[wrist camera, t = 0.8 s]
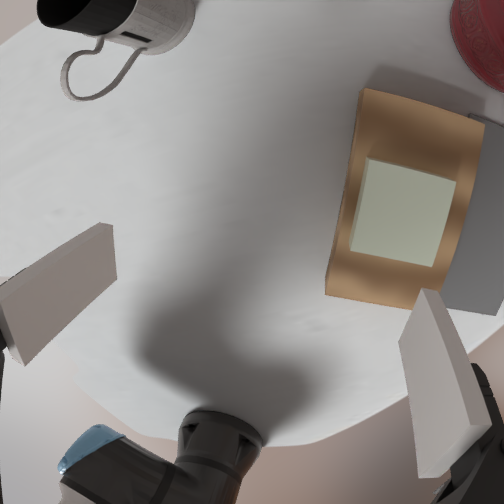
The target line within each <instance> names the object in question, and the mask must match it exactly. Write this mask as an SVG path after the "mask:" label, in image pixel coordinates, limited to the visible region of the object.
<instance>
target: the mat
mask: <svg viewBox="0 0 504 504" xmlns="http://www.w3.org/2000/svg"><path fill="white" fill-rule="evenodd" d="M469 118H470V119H473V120H476V121H478V122H481V123H483V124H485V128H484V135H483V141H482V147H481V152H480V158H479V163H478V168H477V172H476V177H475V181H474V186H473V190H472V194H471V198H470V202H469V206H468V210H467V213H466V217H465V220H464V224H463V227H462V231H461V234H460V237H459V240H458V243H457V246H456V250H455V253H454V256H453V258H452V261H451V264H450V267H449V270H448V273H447V275H446V278H445V281H444V283H443V286H442V288H441V291H440V296H441V298H442V300H443V303H444V305H445V307H446V308H450V309H456V310H462V311H468V312H474V313H480V314H487V315H493V316H496V314H497V312H498V310H499V308H500V306H501V303H502V301H503V299H504V127H502V126H500V125H497V124H495V123H493V122H490V121H488V120H485V119H483V118H481V117H478V116H475V115H473V114H469Z"/></svg>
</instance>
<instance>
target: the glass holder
mask: <svg viewBox="0 0 504 504" xmlns="http://www.w3.org/2000/svg"><path fill="white" fill-rule="evenodd" d="M37 15H38V18H39V20H40V21H41V23H42V24H43V25H45V26H47V27H50V28H56V29H62V30H68V31H73V32H78V33H82V34H84V35H86V36H88V37H93V38H97V44H96V47H95V49H94V50H93V51H91V50H81V51H78V52H75V53H73V54H72V55H71V56H70V57H68V58H67V60H66V61H65V63H64V64H63V67H62V70H61V78H60V81H61V87H62V90H63V92H64V94H65V96H66V97H68V98H69V99H70V100H73V101H89V100H94V99H97V98H99V97H102V96H104V95H105V94H107V93H108V92H110V91H111V90H113V89H114V88H115V87H116V86H117V85H118V84H119V83H120V82H121V80H122V79H123V77H124V76H125V74H126V73H127V72H128V70H129V69H130V67H131V66H132V64H133V63H134V61H135V60H136V58H137V57H138V56H139V54H140V53H141V54H145V55H157V54H161V53H165V52H167V51H169V50H171V49H173V48H174V47H176V46H177V45H178V44H179V43H180V42H181V41H182V40H183V39H184V38H185V37H186V36H187V34H188V33H189V31H190V29H191V27H192V25H193V21H194V16H195V9H194V4H193V2H192V0H38V1H37ZM104 40H106V41H111V42H115V43H119V44H123V45H127V46H130V47H132V48H133V49H134V50H136V51H135V52H134V53H133V54H132V55H131V57H130V58H129V60H128V61H127V62H126V64H125V66H124V67H123V69H122V70H121V71H120V73H119V74H118V75H117V77H116V78H115V79H114V80H113V82H112V83H111V84H110V85H108V86H107V87H106V88H105V89H103V90H102V91H100V92H99V93H97V94H94V95H92V96H88V97H77V96H75V95H74V94H73V93H72V92H71V90H70V87H69V83H68V72H69V68H70V66H71V64H72V62H73V61H74V60H75V59H76V58H77V57H78V56H80V55H95V54H97V53H99V52H100V51H101V50H102V47H103V44H104Z"/></svg>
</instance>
